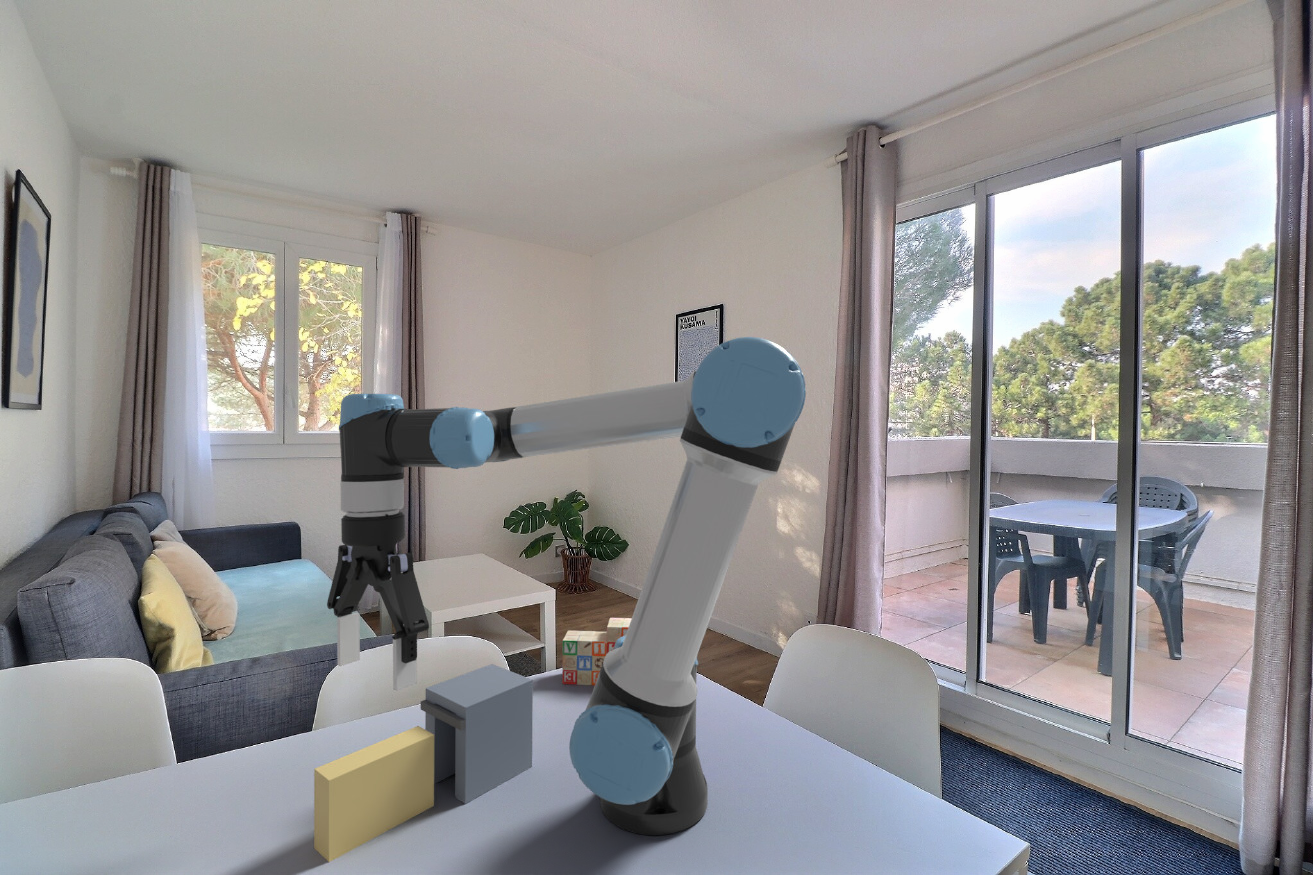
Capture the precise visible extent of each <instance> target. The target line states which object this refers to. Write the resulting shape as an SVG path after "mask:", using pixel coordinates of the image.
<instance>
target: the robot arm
mask: <svg viewBox="0 0 1313 875" xmlns="http://www.w3.org/2000/svg"><path fill="white" fill-rule="evenodd" d="M806 390H807V388H806V380H805V376H804V373H803V371H802V369H801V366H800V364H799V363H798V361H797V360H796V359H795V358H794V357H793V355H792V353H790V352H789V351H788V350H786V349H785V348H784V347H782V346H781V345H779V344H778V343H775V342H773V341H771V340H768V339H765V338H761V337H756V336H743V337H741V336H740V337H735V338H733V339H730V340H727V341H724V342H722V343H720V344H719V345H717V346H716V347H715V348H713V349H711V350H710V351H709V352H708V353H707V354H706V355H705V357H704V358H703V359H702V361H701V362H700V363H699V365H698V367H697V369H696V370H695V371H692V372H691V373H690V374H689V376H688V377H687V378H686V379H685V380H680V381H679V380H678V381H673V382H668V383H662V384H654V385H649V386H643V387H636V388H628V389H623V390H616V391H610V392H603V393H597V394H596V393H595V394H591V395H584V396H577V397H570V398H565V399H559V400H552V401H546V402H545V401H544V402H539V403H538V402H537V403H533V404H527V405H520V406H515V407H514V406H513V407H505V408H499V409H493V410H481V409H478V408H468V407H458V406H455V407H454V406H453V407H452V406H451V407H443V408H441V407H440V408H420V409H419V408H415V409H410V408H405V406H404V400H403V397H401V396H400V395H399V394H393V393H351V394H347V395H345V396H343V398H342V400H341V402H340V414H339V416H340V417H339V418H340V419H339V425H338V431H339V444H340V445H339V447H340V460H341V463H340V464H341V475H340V476H341V477H340V511H342V512H343V513H345V515H343V516H342V518H341V524H340V527H341V533H340V534H341V543H342V545H341V544H340V545H338V549H337V563H336V566H335V570H334V574H333V579H332V581H331V586H330V589H329V593H328V599H327V603H326V606H327V608H328V609H329V610H333V614H334V616H335V617H336V636H337V637H336V640H337V641H336V643H337V645H336V646H337V648H336V650H337V656H336V657H337V666H339V667H342V666H345V665H349V664H352V663H355V662H358V661H361V652H360V651H361V648H360V647H361V645H360V644H361V643H360V642H361V641H360V638H361V637H360V633H361V632H360V631H361V630H360V613H358V611H360V610H361V609H360V606H359V604H360V602H361V600H362V597H363V596H364V594H365V592H366V589H367V588H368V585H369V586H370V587H372V588H373V590H374V591H375V592H377V593H379V595H380V597H381V599H382V601H383V603H384V604H383V605H384V606H385V609H386V611H387V614H388V615H389V618H390V621H391V622H392V625H393V627H394V629H395V630H394V631H395V633H394V634H393V636H392V637H391V639H392V669H393V670H392V679H393V680H392V681H393V684H392V686H393V690H394V691H396V692H398V691H401V690H403V689H405V688H408V687H411V686H413V685H416V684H417V681H418V680H417V679H418V678H417V677H418V676H417V675H418V674H417V672H418V670H417V667H418V666H417V664H418V663H417V658H418V635H419V633H422V632H425V631H426V632H427V631H428V630H429V628H430V624H429V621H428V617H427V613H426V610H425V606H424V603H423V599H422V595H421V592H420V589H419V585H418V582H417V578H416V575H415V571H414V558H413V554H412V553H411V552H407V553H402V554H398V552H397V547H396V546H397V545H398V543H399V542H402V541H403V540H404V539H405V537H406V531H405V530H406V529H405V528H406V525H405V524H406V521H405V519H406V518H405V517H406V516H405V514H404V513H403V511H400V510H402V509H403V508H404V507H405V493H404V492H405V488H406V487H405V482H404V479H405V468H415V467H416V468H417V467H418V468H450V469H453V470H458V469H466V468H467V469H469V468H477V467H481V466H483V465H484V464H485V463H501V462H506V461H510V460H517V459H522V458H523V459H524V458H529V457H530V458H531V457H538V456H544V455H552V454H558V453H566V452H575V451H580V450H581V451H582V450H590V449H598V448H605V447H611V446H619V445H628V444H633V443H642V442H649V441H658V440H664V439H666V440H667V439H673V438H679V442H680V444H681V446H682V448H683V450H684V452H685V455H686V461H685V465H684V466H683V469H682V470H683V471H682V473H681V475H680V479H679V481H678V484H677V487H676V490H675V493H674V495H673V499H672V501H671V505H670V506H669V510H668V513H667V516H666V519H665V522H664V524H663V528H662V530H661V533H660V536H659V539H658V542H657V545H656V548H655V551H654V554H653V557H652V559H651V561H650V566H649V568H648V570H647V574H646V576H645V579H644V583H643V585H642V587H641V591H640V594H639V596H638V600H637V602H636V605H635V608H634V610H633V613H632V616H631V618H632V619H631V622H630V625H629V628H628V631H627V634H626V635H625V636H623V637H620V638H619V639H618V640H617V641H616V642H615V647H614V650H612V651H610V652H609V653H607V655H606V656H605V658H604V661H603V664H602V667H601V669H600V672H599V675H598V678H597V681H596V684H595V686H594V687H593V690H592V693H591V695H590V698H589V700H588V704H587V705H586V708H585V710H584V711H583V712H581V713H580V715H578V718H577V719H576V720H575V722H574V725H573V728H572V732H571V734H570V738H569V756H570V761H571V764H572V767H573V768H574V770H575V771H576V773H577V774H578V778H579V780H580V781H581V782H582V783H583V785H585V787H586V788H587V789H588V790H589V791H591V792H592V793H593V794H594V795H596V796H598V797H599V800H600V802H599V803H600V808H601V810H602V813H603V815H604V816H605V817H606V818H607V819H608V820H609V821H610V822H611V823H613V824H614V826H617V827H619V828H621V829H623V830H624V831H628V832H631V833H635V834H638V835H639V834H640V835H648V836H662V835H669V834H674V833H678V832H681V831H683V830H686V829H688V828H691V827H692V826H694V825H695V824H696V823H698V822H699V821H700V820H701V819H702V818H703V816H704V815H705V814H706V812H707V809H708V801H709V799H708V798H709V797H708V794H709V792H708V791H709V790H708V788H709V787H708V782H707V780H706V777H705V775H704V771H703V768H702V764H701V760H700V757H699V754H698V749H697V744H696V742H697V741H696V739H697V738H696V737H697V696H698V686H697V680H698V679H697V677H698V676H697V666H699V661H698V654H699V650H700V648H701V645H702V642H703V640H704V637H705V635H706V632H707V629H708V627H709V623H710V620H711V617H712V615H713V612H714V609H715V606H716V603H717V600H718V599H719V596H720V593H721V589H722V587H723V584H724V582H725V579H726V576H727V573H728V571H729V568H730V565H731V561H732V559H733V557H734V556H733V555H734V553H735V550H736V549H737V545H738V542H739V540H740V536H741V533H742V531H743V528H744V526H745V524H746V520H747V517H748V514H749V512H750V509H751V506H752V503H753V501H754V498H755V495H756V492H757V491H758V490H757V489H758V487H759V484H761V483H762V481H765V480H766V479H769V478H772V477H773V476H776V475H777V474H778V471H779V469H780V466H781V464H782V461H783V458H784V455H785V453H786V449H787V448H788V444H789V441H790V439H791V436H792V433H793V430H794V427H795V424H796V423H797V421H798V419H799V418H800V417H801V414H802V411H803V409H804V406H805V402H806V394H807V391H806Z"/></svg>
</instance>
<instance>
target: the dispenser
mask: <svg viewBox="0 0 1313 875" xmlns="http://www.w3.org/2000/svg"><path fill="white" fill-rule="evenodd" d="M533 681H534V680H533V679H532V678H529V677H526V676H523V675H521V674H520V673H516V672H513V671H511V670H508V669H506V668H504V667H500V666H499V665H495V664H493V663H492V664H488V665H486V666H483V667H480V668H477V669H474V670H472V671H469V672H467V673H464V674H460V675H458V676H456V677H453V678H450V679H447V680H444V681H441V682H438V683H436V684H434V685H430V686H428V687H425V699H423V700H420V710H421V711H423V712H424V713H425V714H424V716H425V724H424V725H425V727H424V729H425V730H427V731H428V732H430V733H432V734H434V785H435V784H437V783H439V782H442V781H443V780H445V779H447V778H449V777H451V776H453V775H454V774H455V776H454V777H455V778H454V780H455V781H454V782H455V783H454V785H455V786H454V790H455V792H454V795H455V799H457V800H459V801H460V802H462V803H463V804H465V805H466V804H468V803H470V802H471V801H473V800H475V799H477V798H478V797H481V796H483V794H486V793H488V792H489V791H492V790H493V789H495V788H497V787H498V786H500V785H501V784H504V783H505V782H507V781H509V780H510V779H511V780H512V778H514V777H516V776H517V775H520V774H522V773H523V772H525V771H527V770H528V769H530V768H532V767H533V707H534V706H533V703H534V699H533V696H534V695H533V692H534V691H533V688H534V687H533V684H534V682H533Z"/></svg>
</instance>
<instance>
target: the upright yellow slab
mask: <svg viewBox="0 0 1313 875" xmlns="http://www.w3.org/2000/svg"><path fill="white" fill-rule="evenodd" d="M313 771H314V772H313V776H314V777H313V780H314V781H313V782H314V783H313V784H314V785H313V786H314V788H313V789H314V790H313V791H314V792H313V794H314V795H313V799H314V800H313V805H314V806H313V807H314V808H313V809H314V810H313V813H314V814H313V815H314V816H313V817H314V819H313V824H314V827H313V833H314V834H313V835H314V836H313V840H314V842H313V844H314V845H313V848H314V849H315V850H316V851H317V852H318V854H320V855H321V856H322V857H323V858H324V859H325V860H326V861H327V862H328V863H331V862H332V861H334V860H335V859H338V858H340V857H342V856H344V855H346V854H347V853H350V851H352V850H354V849H356V848H358V847H360V846H362V845H364V844H366V843H367V842H369V841H372V840H373V839H375V838H377V837H378V836H380V835H382V834H384V833H387V832H388V831H390V830H391V829H394V828H395V827H397V826H399V825H401V824H403V823H405V822H406V821H408V820H410V819H412V818H414V817H416V816H417V815H419V814H421V813H423V812H425V811H427V810H429V809H431V808H432V807H434V806H435V784H434V734H432V733H430V732H428V731H427V730H425V728H423V727H421V726H419V725H416V726H414V727H412V728H410V729H407V730H405V731H403V732H400V733H398V734H395V735H393V736H390V737H387V738H385V739H383V740H381V741H379V742H378V741H377V742H376V743H374V744H371V745H369V746H366V747H364V748H361V749H359V750H357V751H354V752H351V753H350V754H347V755H344V756H342V757H340V758H338V759H335V760H333V761H330V762H328V763H327V762H326V763H325V764H323V765H321V766H317V767H315V768H314V770H313Z"/></svg>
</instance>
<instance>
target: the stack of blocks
mask: <svg viewBox="0 0 1313 875" xmlns="http://www.w3.org/2000/svg"><path fill="white" fill-rule="evenodd" d="M631 619H632V617H630V618H629V617H627V618H626V617H610V618H609V620H608V622H607V627H606V631H595V630H593V631H592V630H567V632H566V634H565V636H564V638H563V639H562V644H561V646H562V651H561V652H562V654H561V655H562V659H561V660H562V664H561V665H562V666H561V668H562V669H561V670H562V675H561V676H562V678H561V680H562V681H561V684H562V685H577V686H594V687H595V684H596V681H597V678H598V675H599V672H600V669H601V667H602V664H603V661H604V658H605V656H606V655H607V653H609V652H610V651H612V650H614V647H615V642H616V641H617V640H618V639H619V638H620V637H623V636H625V635H626V634H627V631H628V628H629V625H630V622H631Z"/></svg>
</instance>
